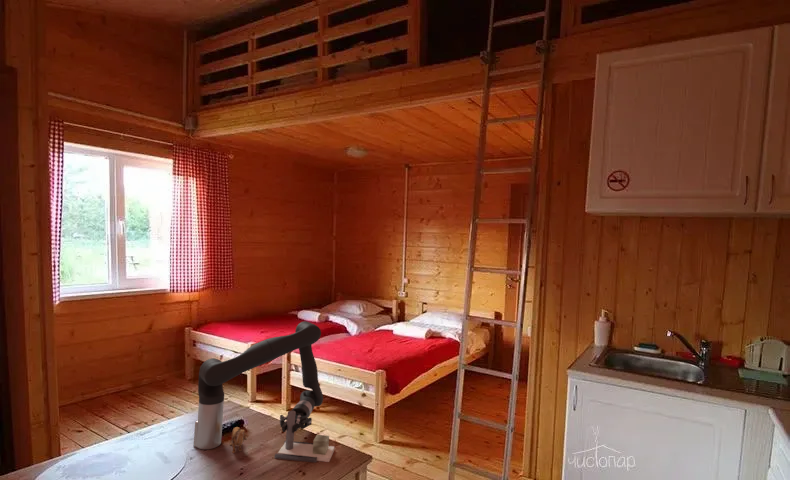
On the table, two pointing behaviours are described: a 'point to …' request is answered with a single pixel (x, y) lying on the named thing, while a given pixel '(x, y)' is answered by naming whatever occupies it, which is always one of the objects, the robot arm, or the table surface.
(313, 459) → the guide rails
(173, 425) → the table surface
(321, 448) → the block
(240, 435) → the lion figurine
